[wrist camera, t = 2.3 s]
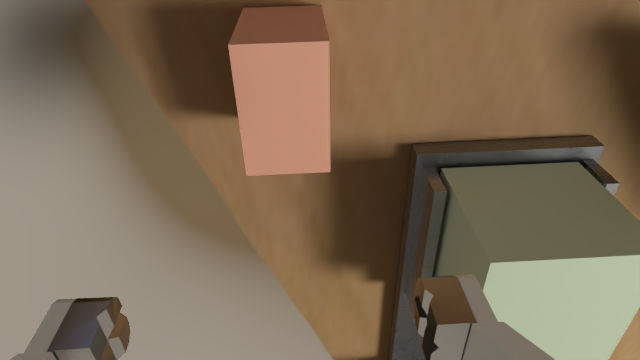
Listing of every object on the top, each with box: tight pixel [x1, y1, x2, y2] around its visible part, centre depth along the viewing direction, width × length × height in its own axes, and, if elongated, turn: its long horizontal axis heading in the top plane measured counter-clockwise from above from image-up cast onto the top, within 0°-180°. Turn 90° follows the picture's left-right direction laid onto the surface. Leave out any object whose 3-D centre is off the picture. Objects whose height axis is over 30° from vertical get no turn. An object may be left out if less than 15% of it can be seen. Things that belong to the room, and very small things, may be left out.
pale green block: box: [432, 162, 640, 360], centre depth 29 cm, size 12×10×9 cm
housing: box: [228, 5, 330, 176], centre depth 24 cm, size 4×7×7 cm, turn 1°
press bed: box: [388, 136, 619, 360], centre depth 34 cm, size 29×13×12 cm, turn 1°
